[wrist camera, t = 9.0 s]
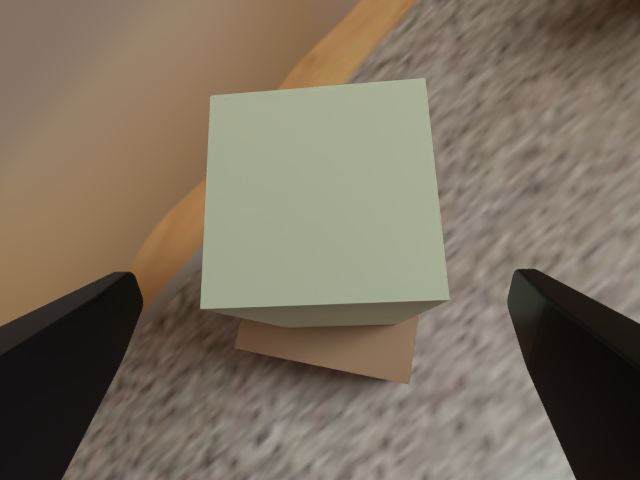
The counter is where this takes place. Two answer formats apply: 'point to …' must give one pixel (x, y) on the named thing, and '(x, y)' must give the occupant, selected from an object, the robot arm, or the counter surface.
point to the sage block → (323, 206)
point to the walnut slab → (337, 346)
